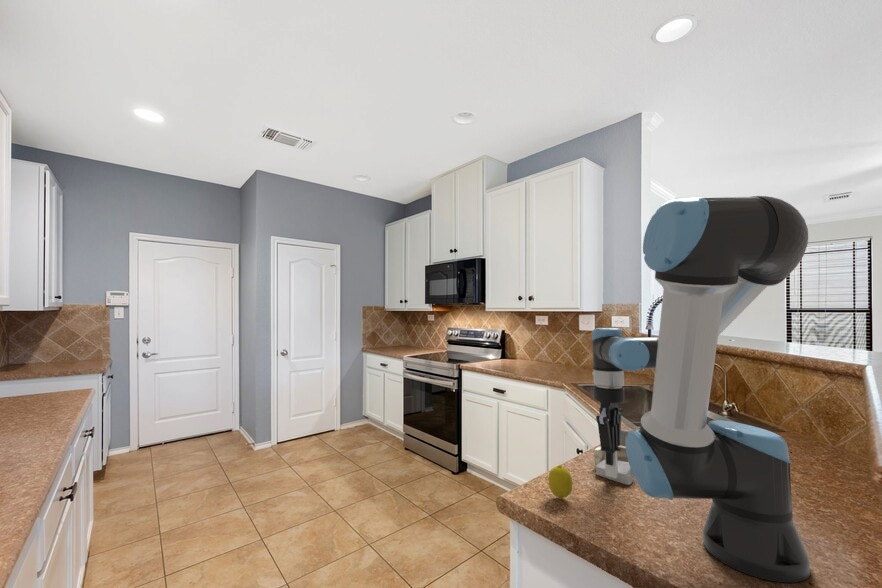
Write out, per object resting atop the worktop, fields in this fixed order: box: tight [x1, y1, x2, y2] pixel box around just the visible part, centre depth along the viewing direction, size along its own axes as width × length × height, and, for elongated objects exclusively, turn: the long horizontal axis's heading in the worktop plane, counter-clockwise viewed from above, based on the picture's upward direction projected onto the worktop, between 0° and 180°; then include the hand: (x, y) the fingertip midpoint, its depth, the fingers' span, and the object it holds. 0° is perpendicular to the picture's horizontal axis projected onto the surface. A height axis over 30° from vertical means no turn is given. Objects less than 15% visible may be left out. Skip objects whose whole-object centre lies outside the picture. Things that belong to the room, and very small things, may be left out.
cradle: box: [593, 444, 629, 468], centre depth 110 cm, size 8×14×5 cm, turn 47°
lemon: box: [548, 464, 573, 500], centre depth 93 cm, size 6×6×8 cm
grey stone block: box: [595, 460, 634, 486], centre depth 105 cm, size 10×6×6 cm, turn 36°
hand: (611, 476), depth 102 cm, fingers closed
